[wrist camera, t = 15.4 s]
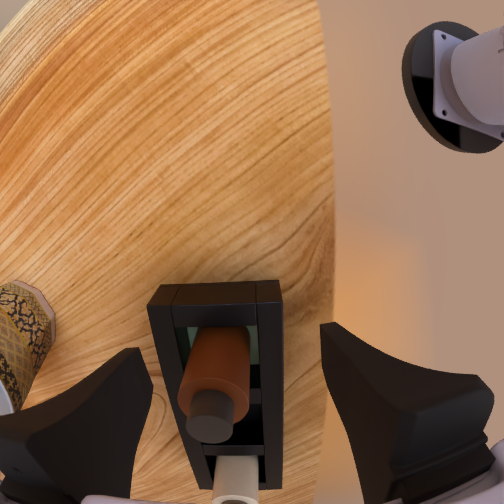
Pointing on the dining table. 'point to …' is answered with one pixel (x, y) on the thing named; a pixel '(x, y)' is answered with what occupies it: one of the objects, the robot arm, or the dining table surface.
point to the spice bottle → (216, 382)
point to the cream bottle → (236, 480)
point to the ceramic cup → (22, 341)
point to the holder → (261, 367)
